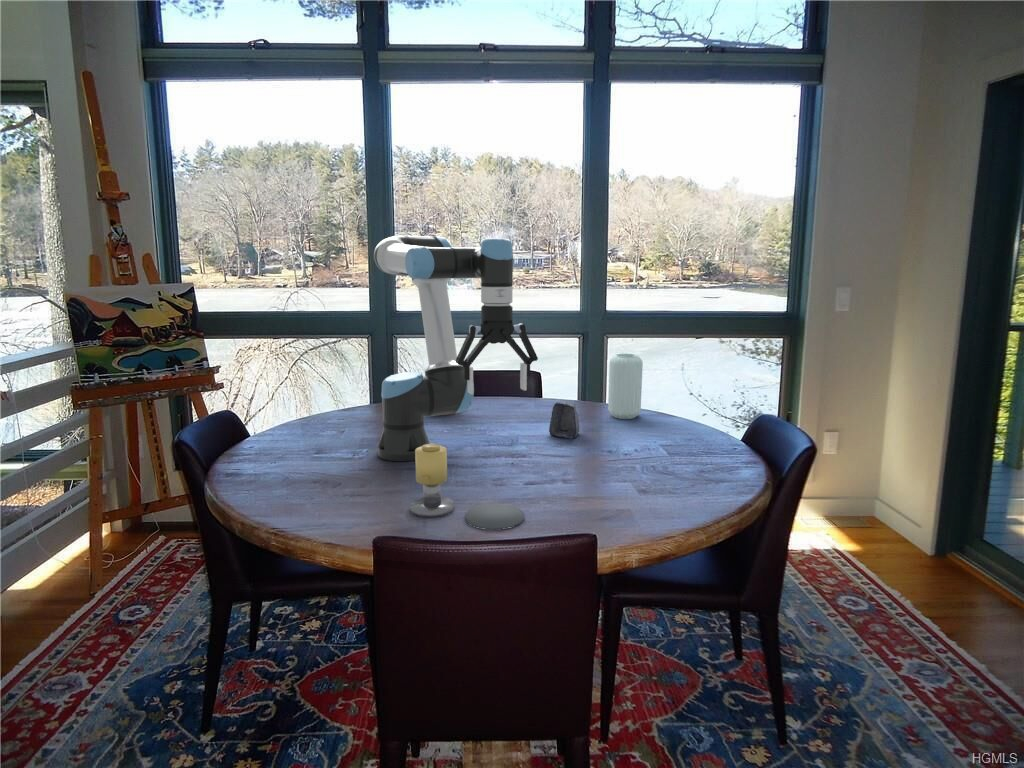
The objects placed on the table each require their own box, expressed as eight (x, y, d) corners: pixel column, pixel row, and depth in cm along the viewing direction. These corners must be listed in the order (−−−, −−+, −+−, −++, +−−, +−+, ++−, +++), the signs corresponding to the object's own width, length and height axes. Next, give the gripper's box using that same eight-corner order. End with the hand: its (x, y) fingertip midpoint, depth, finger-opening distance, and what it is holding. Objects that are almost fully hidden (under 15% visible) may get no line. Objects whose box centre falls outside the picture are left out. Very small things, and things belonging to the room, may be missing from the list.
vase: (616, 411, 241) (618, 351, 237) (645, 415, 234) (648, 354, 230) (602, 417, 232) (604, 355, 227) (631, 422, 225) (634, 358, 221)
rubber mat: (457, 526, 139) (457, 523, 139) (474, 504, 151) (474, 501, 151) (517, 532, 136) (517, 529, 136) (529, 509, 149) (529, 505, 149)
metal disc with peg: (403, 516, 145) (402, 485, 143) (419, 499, 154) (418, 470, 153) (446, 519, 143) (445, 488, 141) (459, 503, 152) (459, 473, 151)
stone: (570, 446, 203) (542, 433, 207) (578, 443, 213) (551, 431, 216) (584, 410, 202) (555, 398, 205) (592, 409, 211) (564, 398, 214)
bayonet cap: (409, 485, 143) (408, 451, 142) (424, 471, 152) (423, 439, 151) (439, 487, 142) (439, 453, 140) (452, 473, 151) (452, 441, 149)
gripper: (449, 306, 149) (451, 397, 153) (551, 304, 156) (550, 390, 160) (442, 304, 156) (444, 391, 160) (540, 302, 163) (539, 385, 167)
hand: (497, 391), depth 160 cm, fingers open, 13 cm apart
